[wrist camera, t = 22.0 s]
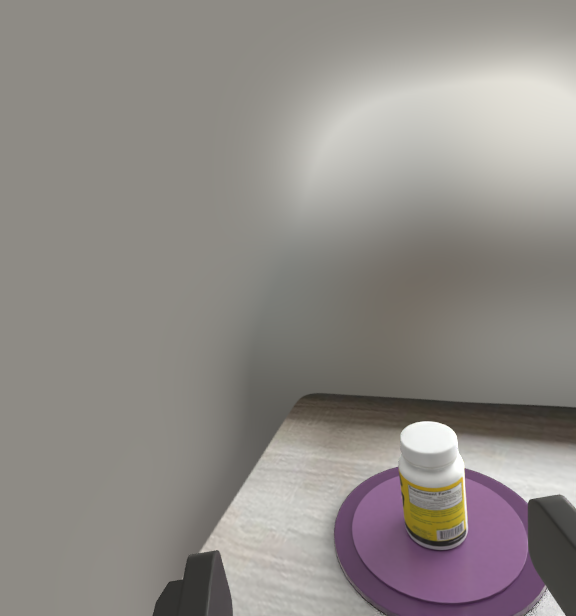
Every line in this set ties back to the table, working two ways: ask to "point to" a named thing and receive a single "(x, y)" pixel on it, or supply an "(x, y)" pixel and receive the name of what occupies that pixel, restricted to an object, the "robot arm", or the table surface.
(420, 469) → the supplement bottle
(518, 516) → the plum dish
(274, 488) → the table surface
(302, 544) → the table surface
